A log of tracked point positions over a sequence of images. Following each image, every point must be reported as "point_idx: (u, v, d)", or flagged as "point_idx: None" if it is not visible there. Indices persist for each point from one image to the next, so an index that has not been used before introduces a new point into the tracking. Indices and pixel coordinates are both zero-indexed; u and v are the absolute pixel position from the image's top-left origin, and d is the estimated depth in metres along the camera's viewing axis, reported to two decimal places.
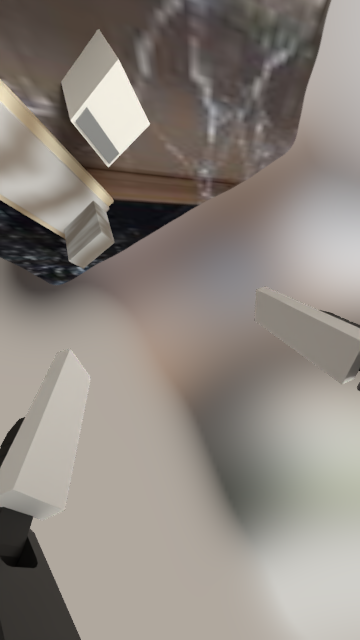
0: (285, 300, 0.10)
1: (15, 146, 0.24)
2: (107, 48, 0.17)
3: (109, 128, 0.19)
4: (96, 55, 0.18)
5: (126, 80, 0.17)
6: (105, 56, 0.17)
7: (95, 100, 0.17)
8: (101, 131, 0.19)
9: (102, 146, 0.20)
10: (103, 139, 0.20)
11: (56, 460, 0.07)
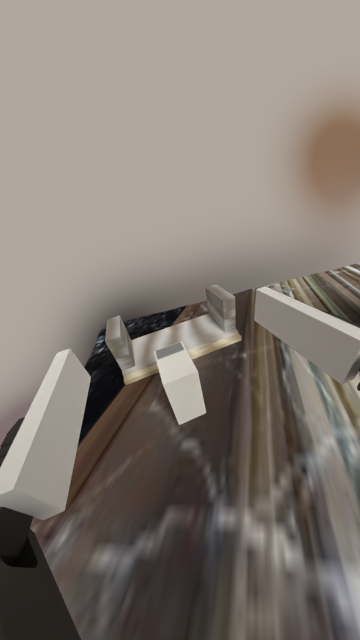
0: (285, 300, 0.10)
1: None
2: (200, 387, 0.26)
3: (171, 357, 0.26)
4: None
5: (188, 373, 0.23)
6: None
7: (185, 354, 0.26)
8: (172, 351, 0.27)
9: (165, 350, 0.27)
10: (168, 351, 0.27)
11: (56, 460, 0.07)
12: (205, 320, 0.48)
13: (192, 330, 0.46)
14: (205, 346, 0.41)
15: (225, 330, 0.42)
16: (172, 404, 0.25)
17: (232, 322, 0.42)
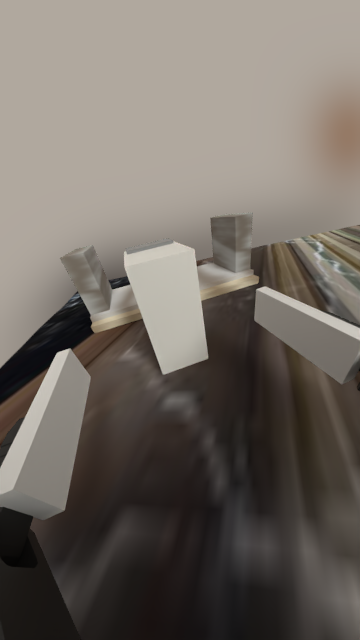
0: (285, 300, 0.10)
1: None
2: None
3: (150, 250, 0.15)
4: None
5: (176, 252, 0.12)
6: None
7: (174, 244, 0.15)
8: (152, 244, 0.16)
9: (142, 245, 0.16)
10: (146, 245, 0.16)
11: (56, 460, 0.07)
12: (209, 266, 0.37)
13: None
14: (208, 288, 0.29)
15: (236, 270, 0.31)
16: (148, 325, 0.14)
17: (246, 258, 0.30)
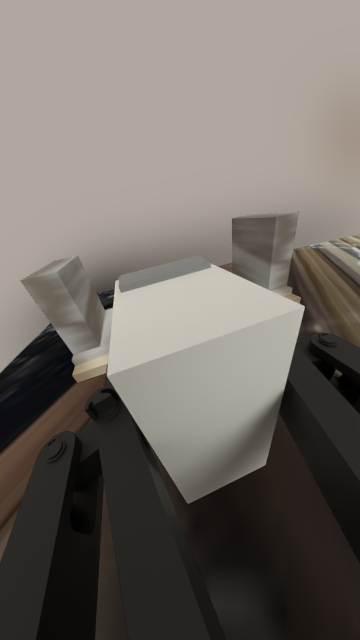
0: None
1: None
2: None
3: (168, 284, 0.07)
4: None
5: (256, 317, 0.04)
6: None
7: (217, 274, 0.07)
8: (171, 270, 0.08)
9: (150, 271, 0.09)
10: (159, 272, 0.08)
11: None
12: None
13: None
14: None
15: (269, 288, 0.23)
16: (168, 460, 0.06)
17: (283, 272, 0.23)
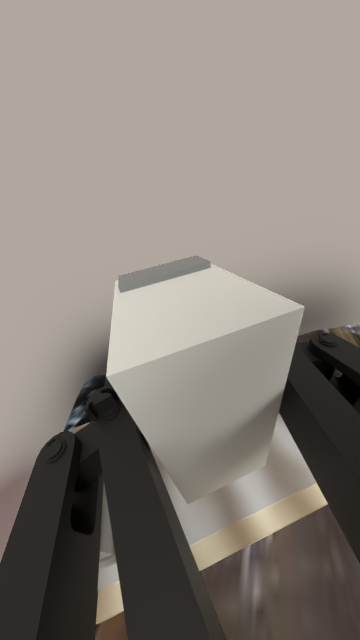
0: None
1: None
2: None
3: (167, 284, 0.07)
4: None
5: (256, 317, 0.04)
6: None
7: (217, 274, 0.07)
8: (170, 270, 0.08)
9: (149, 271, 0.09)
10: (158, 272, 0.08)
11: None
12: None
13: None
14: (288, 502, 0.18)
15: None
16: (167, 460, 0.06)
17: None
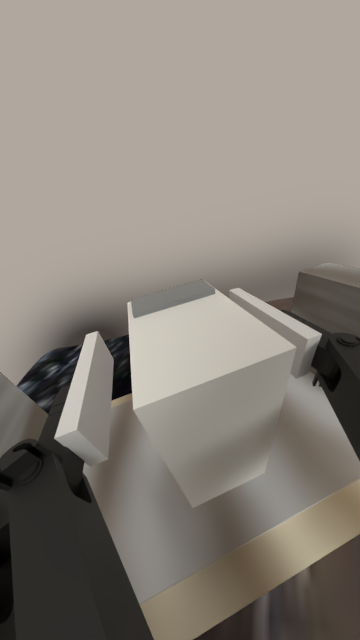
0: (252, 300, 0.11)
1: None
2: None
3: (176, 311, 0.08)
4: None
5: (255, 356, 0.05)
6: None
7: (221, 302, 0.08)
8: (179, 296, 0.09)
9: (159, 295, 0.09)
10: (168, 298, 0.09)
11: (99, 418, 0.08)
12: None
13: None
14: (334, 505, 0.10)
15: None
16: (177, 471, 0.07)
17: None
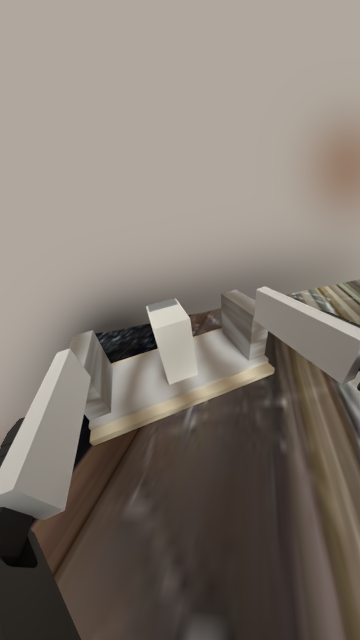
0: (285, 300, 0.10)
1: None
2: (192, 341, 0.25)
3: (163, 310, 0.25)
4: None
5: (180, 320, 0.22)
6: None
7: (178, 307, 0.25)
8: (164, 305, 0.26)
9: (158, 304, 0.26)
10: (161, 305, 0.26)
11: (56, 460, 0.07)
12: (217, 339, 0.35)
13: (200, 353, 0.32)
14: (220, 382, 0.27)
15: (250, 358, 0.28)
16: (162, 356, 0.24)
17: (261, 347, 0.28)
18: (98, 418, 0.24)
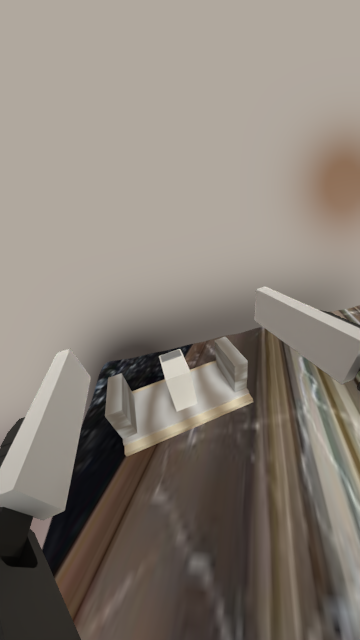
0: (285, 300, 0.10)
1: None
2: (192, 383, 0.35)
3: (172, 361, 0.36)
4: None
5: (183, 372, 0.33)
6: None
7: (182, 359, 0.36)
8: (172, 356, 0.36)
9: (167, 355, 0.37)
10: (170, 356, 0.37)
11: (56, 460, 0.07)
12: (213, 371, 0.45)
13: (199, 385, 0.42)
14: (213, 410, 0.37)
15: (235, 390, 0.39)
16: (172, 395, 0.35)
17: (243, 383, 0.38)
18: (129, 437, 0.35)
